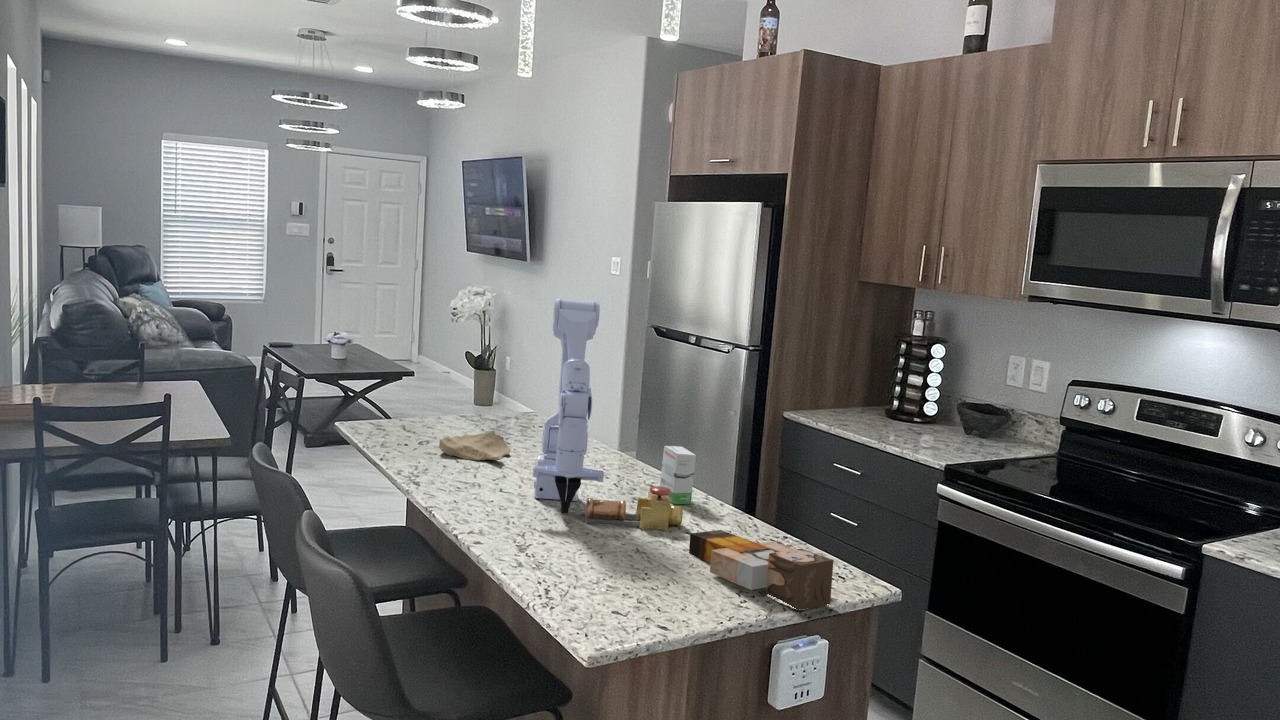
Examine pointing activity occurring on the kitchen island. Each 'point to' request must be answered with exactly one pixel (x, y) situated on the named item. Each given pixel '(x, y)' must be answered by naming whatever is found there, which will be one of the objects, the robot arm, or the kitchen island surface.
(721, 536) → the toy
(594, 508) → the coupling
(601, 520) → the rails
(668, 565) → the kitchen island surface
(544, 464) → the robot arm
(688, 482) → the ink box
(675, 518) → the valve
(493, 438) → the rock
